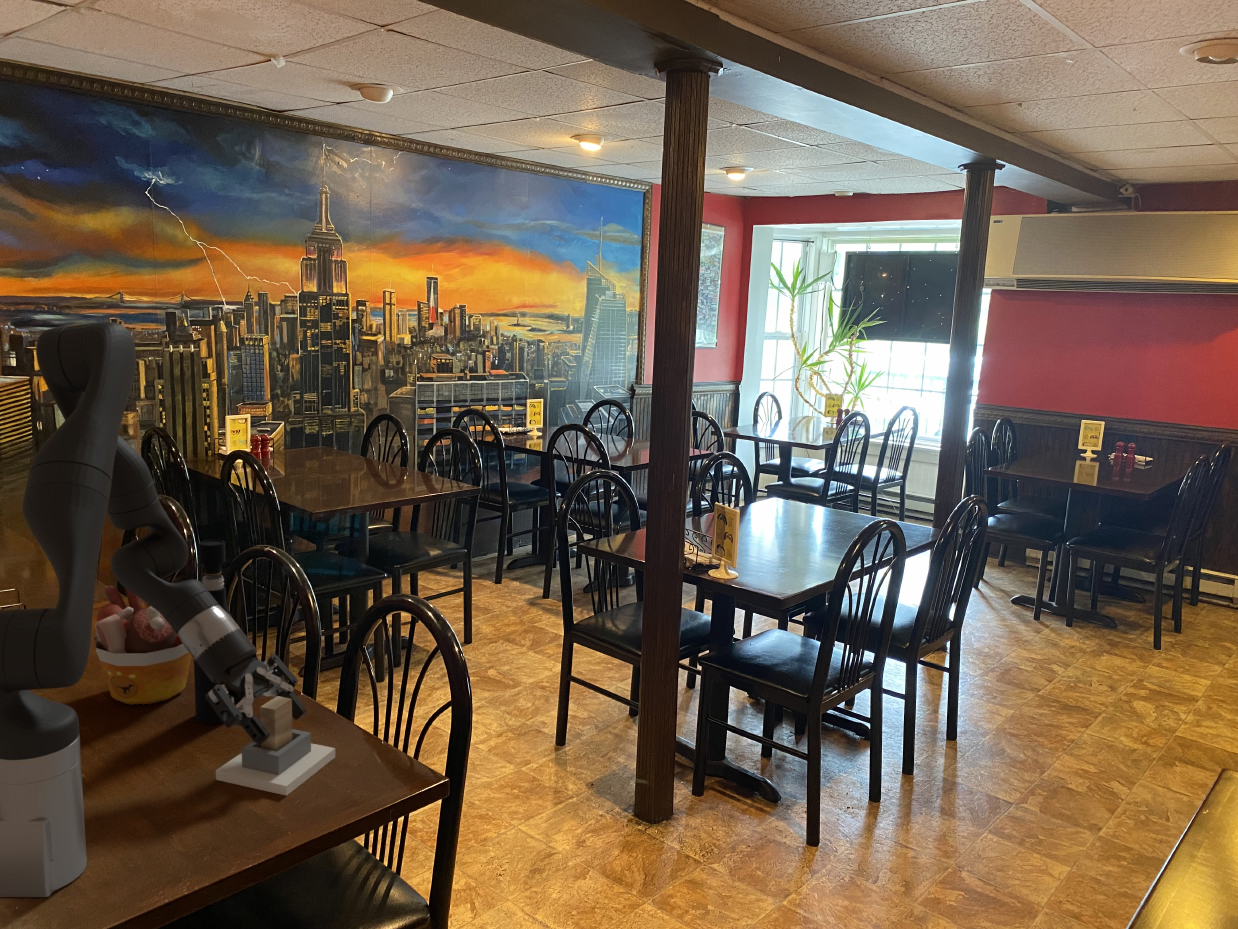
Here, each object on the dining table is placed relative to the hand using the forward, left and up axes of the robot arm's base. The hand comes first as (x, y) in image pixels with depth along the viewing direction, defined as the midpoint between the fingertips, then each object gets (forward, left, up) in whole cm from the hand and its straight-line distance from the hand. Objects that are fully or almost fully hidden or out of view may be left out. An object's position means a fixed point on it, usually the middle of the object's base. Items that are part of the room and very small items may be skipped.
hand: (283, 728), depth 136 cm
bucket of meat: (+26, +31, -7) cm, 41 cm away
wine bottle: (+17, +16, -7) cm, 25 cm away
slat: (0, +1, -5) cm, 5 cm away
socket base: (0, +1, -7) cm, 7 cm away
